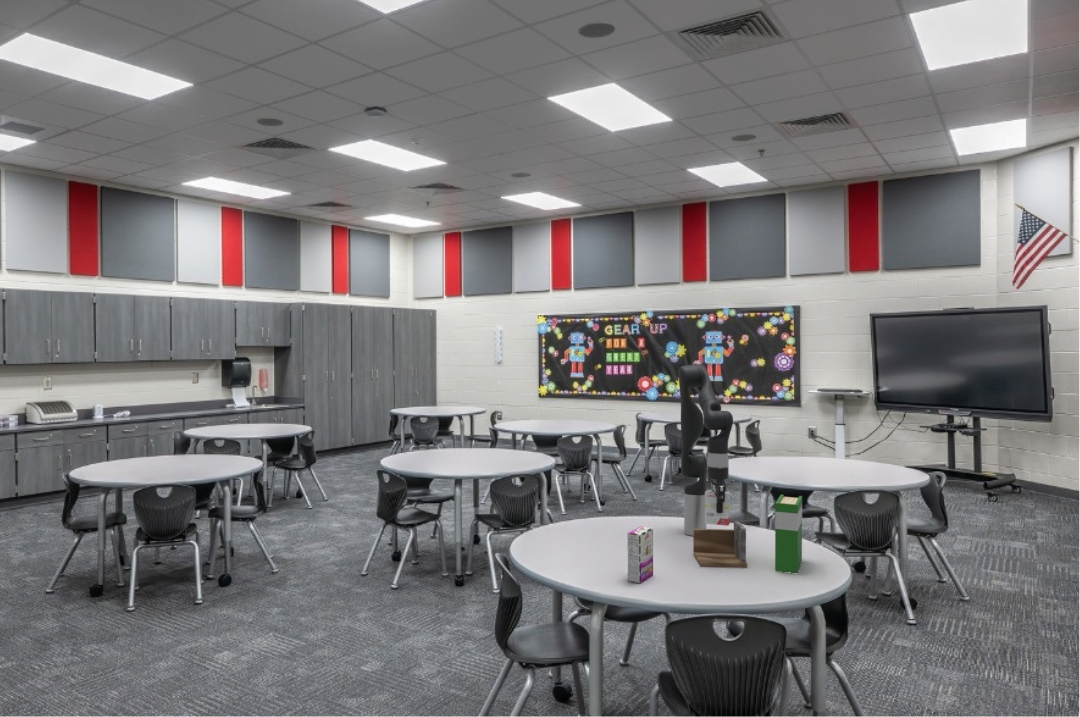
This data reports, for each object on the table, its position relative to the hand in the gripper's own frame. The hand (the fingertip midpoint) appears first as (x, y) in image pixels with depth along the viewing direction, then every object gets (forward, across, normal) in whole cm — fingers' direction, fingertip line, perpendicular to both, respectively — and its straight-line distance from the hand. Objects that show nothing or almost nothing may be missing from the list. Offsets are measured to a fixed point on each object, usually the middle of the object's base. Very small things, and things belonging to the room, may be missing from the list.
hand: (717, 510), depth 252 cm
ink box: (+5, 0, 0) cm, 5 cm away
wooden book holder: (+19, -2, +1) cm, 19 cm away
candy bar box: (+19, +20, -30) cm, 41 cm away
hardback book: (+19, +2, +25) cm, 32 cm away
